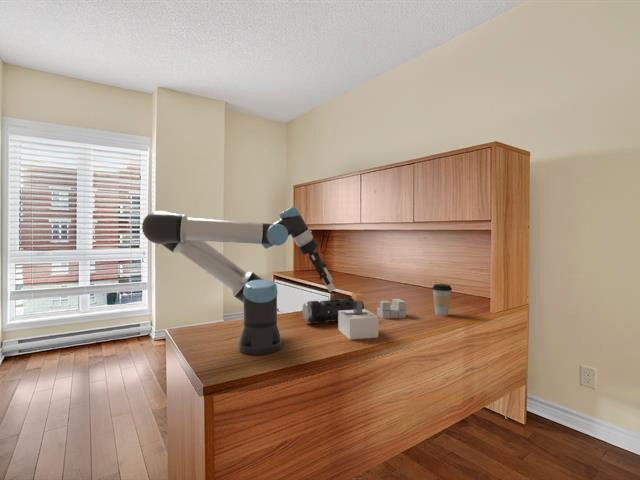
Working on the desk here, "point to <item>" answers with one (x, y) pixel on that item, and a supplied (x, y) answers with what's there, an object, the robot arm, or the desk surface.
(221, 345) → the desk surface
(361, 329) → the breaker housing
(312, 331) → the desk surface
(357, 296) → the breaker toggle
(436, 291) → the coffee cup
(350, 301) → the muzzle brake
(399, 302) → the puzzle cube
